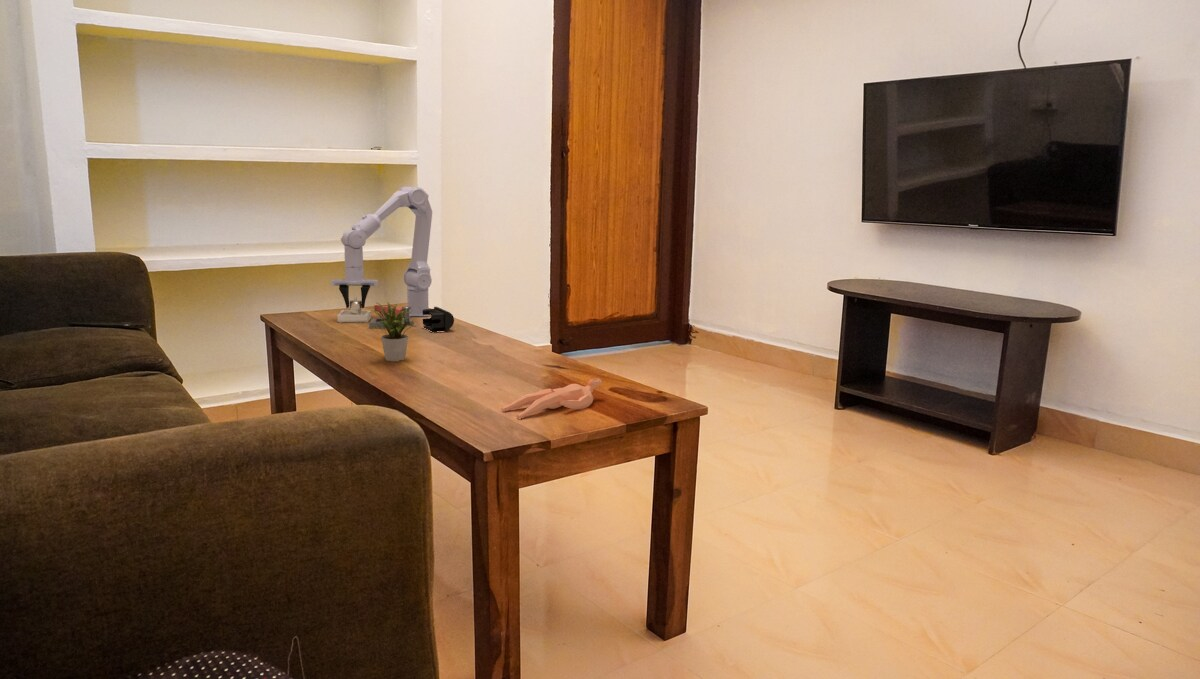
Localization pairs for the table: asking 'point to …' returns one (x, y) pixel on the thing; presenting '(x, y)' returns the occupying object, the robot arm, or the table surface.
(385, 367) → the table surface
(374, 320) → the grey flat square ring
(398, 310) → the bar
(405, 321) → the keeper post
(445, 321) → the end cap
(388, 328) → the house plant
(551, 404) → the male figurine
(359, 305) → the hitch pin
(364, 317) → the tray
